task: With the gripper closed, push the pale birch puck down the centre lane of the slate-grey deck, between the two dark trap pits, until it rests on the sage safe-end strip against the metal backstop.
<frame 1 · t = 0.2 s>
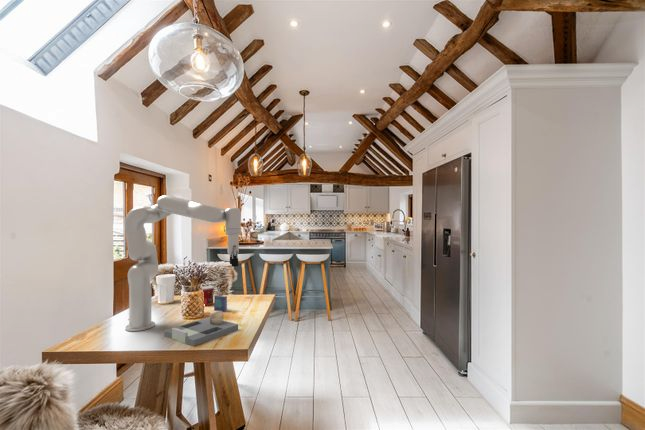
hand: (233, 265, 161), 30 cm above the table, tool pointing down, fingers open, 9 cm apart
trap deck: (202, 332, 147), on the table
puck: (216, 322, 154), point 2 cm above the table, touching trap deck
canned food: (206, 305, 196), on the table
blue box: (220, 311, 183), on the table
cup: (165, 302, 202), on the table
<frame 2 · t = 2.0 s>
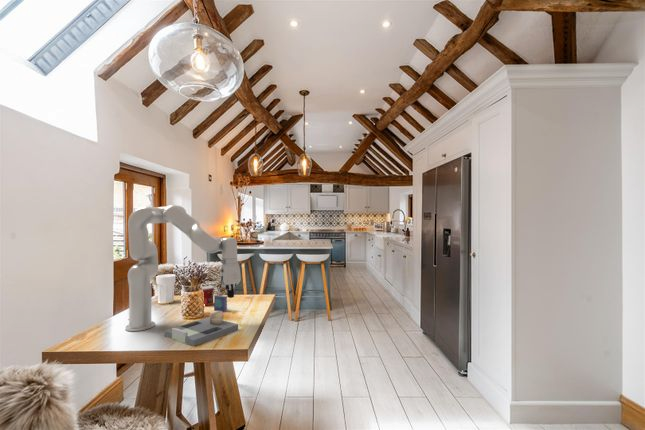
hand: (230, 297, 161), 13 cm above the table, tool pointing down, fingers closed
nothing on the table moved.
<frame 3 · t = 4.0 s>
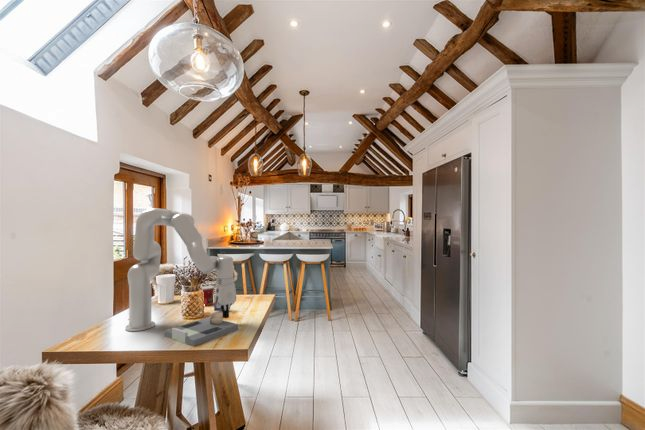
hand: (225, 317, 158), 4 cm above the table, tool pointing down, fingers closed
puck: (216, 322, 154), point 3 cm above the table, touching gripper
everything else where it was.
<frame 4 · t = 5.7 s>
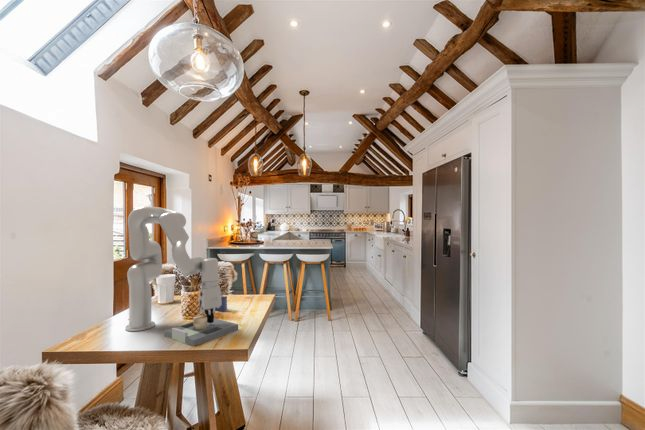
hand: (210, 322, 150), 4 cm above the table, tool pointing down, fingers closed
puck: (200, 328, 146), point 3 cm above the table, touching gripper
everything else where it was.
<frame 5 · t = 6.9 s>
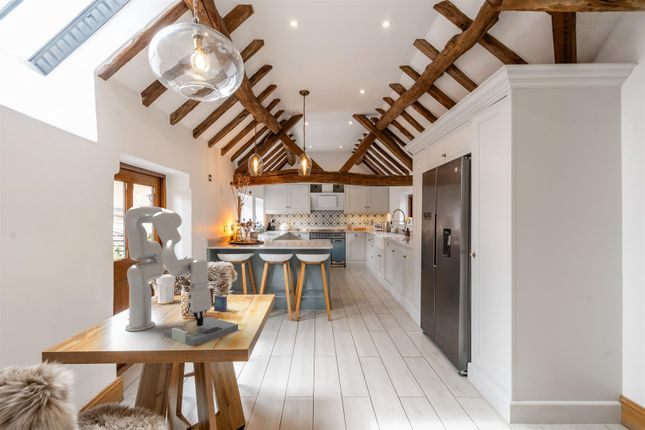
hand: (199, 325, 145), 4 cm above the table, tool pointing down, fingers closed
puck: (189, 332, 140), point 2 cm above the table, touching gripper, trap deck
everything else where it was.
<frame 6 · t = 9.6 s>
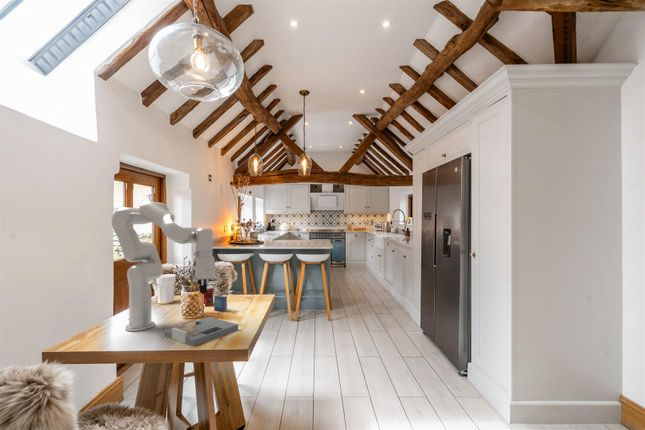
hand: (203, 292, 148), 18 cm above the table, tool pointing down, fingers closed
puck: (188, 332, 140), point 2 cm above the table, touching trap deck
everything else where it was.
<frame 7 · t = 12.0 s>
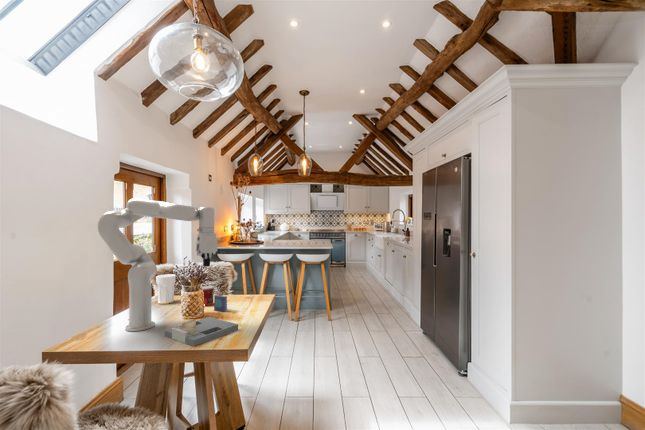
hand: (206, 266, 162), 29 cm above the table, tool pointing down, fingers closed
nothing on the table moved.
at the end: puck inside the target area (1.3 cm from its centre), point 2.5 cm above the table; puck tilted 0°; the gripper is holding nothing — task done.
